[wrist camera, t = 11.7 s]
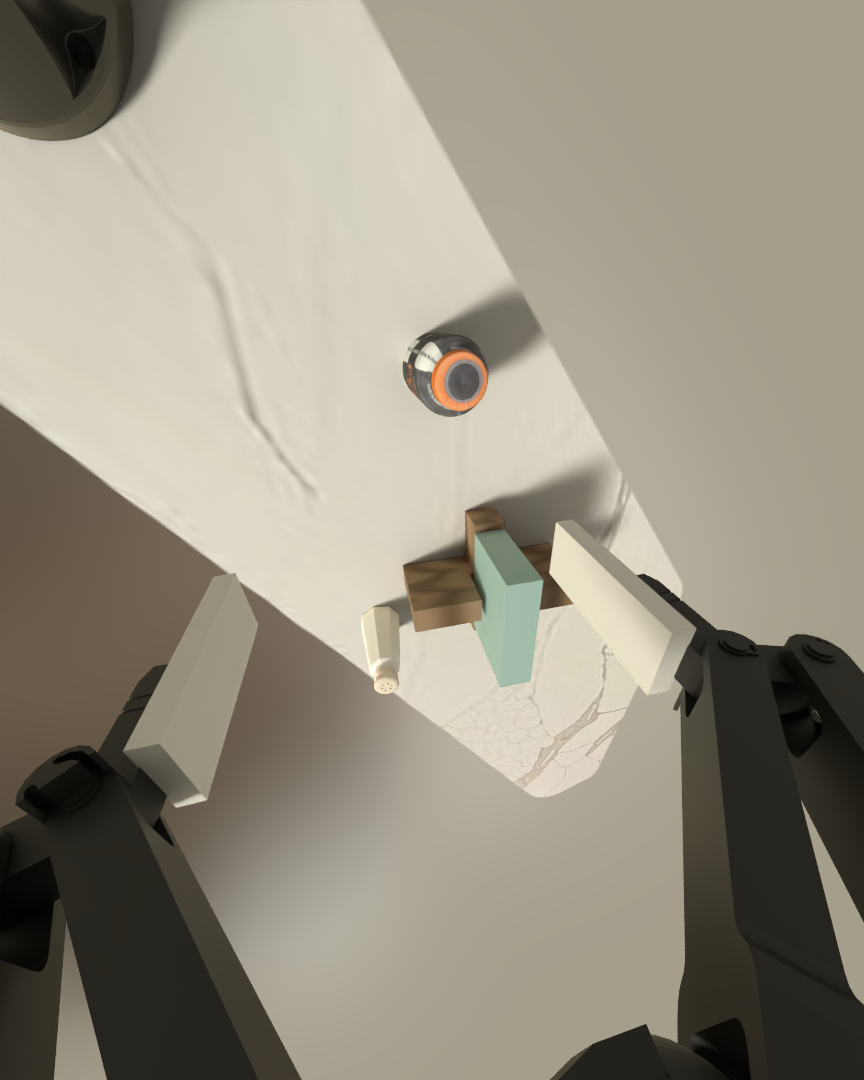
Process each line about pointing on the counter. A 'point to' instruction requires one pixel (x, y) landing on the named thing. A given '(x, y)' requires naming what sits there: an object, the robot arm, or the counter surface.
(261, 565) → the counter surface
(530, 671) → the teal block
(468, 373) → the pill bottle
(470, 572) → the walnut joint base
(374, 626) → the pepper shaker
